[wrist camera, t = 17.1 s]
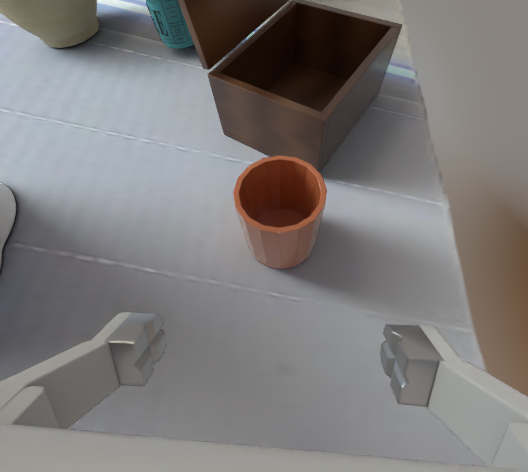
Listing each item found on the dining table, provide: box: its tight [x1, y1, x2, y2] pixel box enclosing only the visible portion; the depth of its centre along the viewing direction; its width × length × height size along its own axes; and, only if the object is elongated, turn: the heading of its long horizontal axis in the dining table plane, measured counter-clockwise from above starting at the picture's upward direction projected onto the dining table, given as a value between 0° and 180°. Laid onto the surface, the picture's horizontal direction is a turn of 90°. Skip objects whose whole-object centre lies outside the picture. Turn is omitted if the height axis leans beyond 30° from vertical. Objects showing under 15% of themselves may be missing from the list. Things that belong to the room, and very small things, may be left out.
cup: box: [233, 155, 327, 269], centre depth 21 cm, size 6×6×8 cm
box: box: [208, 0, 402, 173], centre depth 28 cm, size 13×16×7 cm
